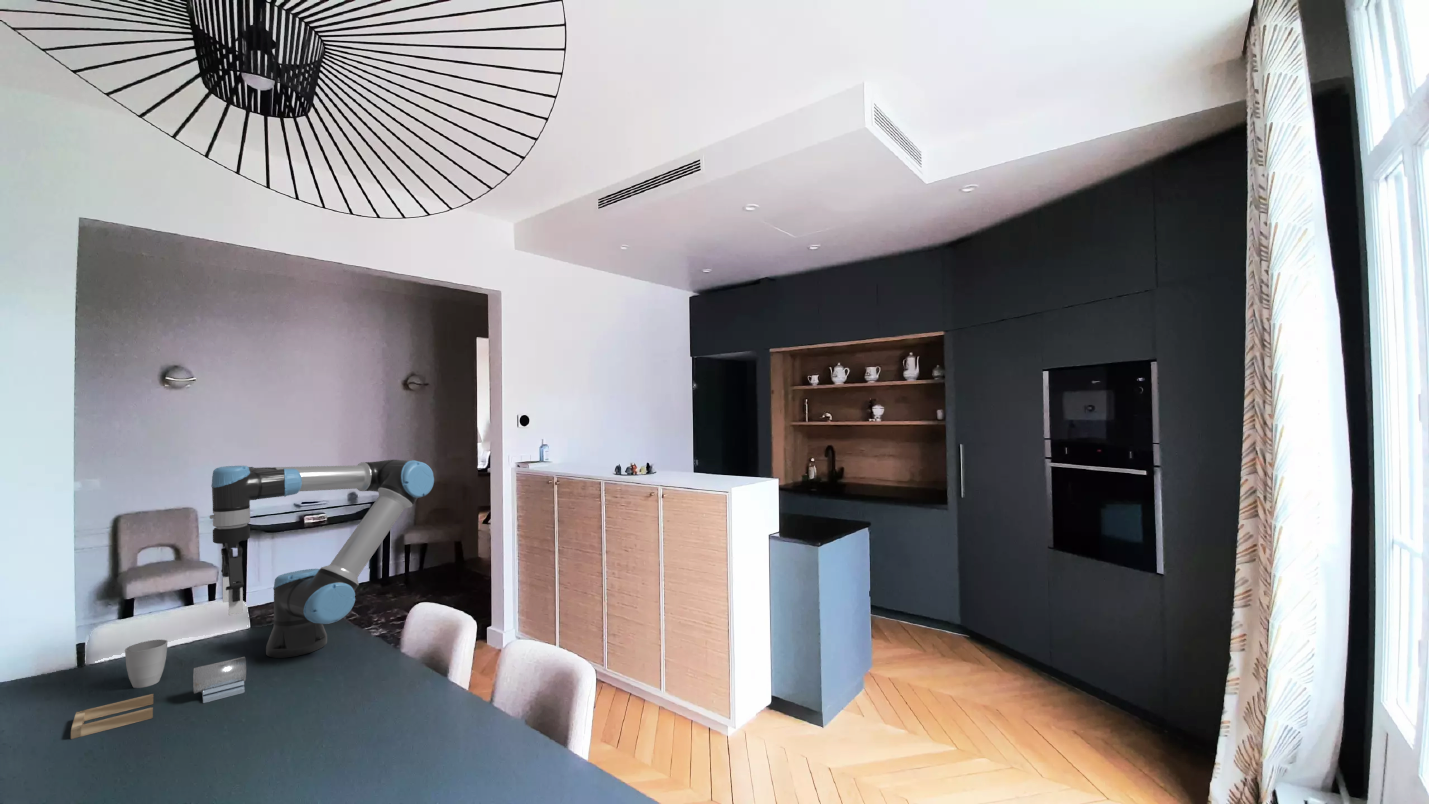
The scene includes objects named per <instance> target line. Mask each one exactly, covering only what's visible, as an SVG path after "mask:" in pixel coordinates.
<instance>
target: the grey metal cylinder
mask: <svg viewBox="0 0 1429 804" xmlns="http://www.w3.org/2000/svg"><path fill="white" fill-rule="evenodd" d="M192 676H193V678H192V679H193V685H192V686H193V694H197V693H202V691H203V690H207V689H211V688H216V687H220V686H224V685H228V684H232V683H236V682H240V681H244V682H246V680H247V660H246V657H245V656H242V657H238V658H237V657H236V658H233V659H232V658H231V659H229V660H224V661H223V660H222V661H220V662H216V663H211V664H205V665H201V666H198V667H194V668H193V675H192Z"/></svg>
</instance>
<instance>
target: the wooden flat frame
mask: <svg viewBox="0 0 1429 804" xmlns="http://www.w3.org/2000/svg"><path fill="white" fill-rule="evenodd" d="M150 705H154V693H151V694H145V695H142V696H138V697H134V698H129V699H126V700H121V701H117V702H113V703H108V704H105V705H100V706H97V707H91V708H87V709H83V710H80V711H75V715H74V719H73V721H72V725H71V729H70V740H73V739H77V738H81V737H85V736H89V735H92V734H96V733H100V732H104V731H105V732H106V731H108V730H112V729H115V728H120V727H123V726H128V725H131V724H134V723H138V722H139V723H140V722H143V721H147V720H150V719H151V720H152V719H153V718H154V717H153V716H154V707H152V706H151V707H148V708H145V709H140V710H136V711H132V712H128V713H124V714H120V715H117V716H116V715H115V714H118V713H123V712H127V711H130V710H135V709H138V708H143V707H146V706H150ZM111 715H115V716H111ZM106 716H111V717H108V718H105V719H100V718H103V717H106ZM98 718H99V719H100V720H96V721H92V722H91V721H90V722H88V723H85V722H87V721H89V720H94V719H98Z"/></svg>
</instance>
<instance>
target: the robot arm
mask: <svg viewBox="0 0 1429 804" xmlns="http://www.w3.org/2000/svg"><path fill="white" fill-rule="evenodd" d="M434 483H435V477H434V471H433V470H432V468H431V467H430V466H429V465H428V464H427V463H425V462H422V461H418V460H414V459H413V460H405V459H404V460H403V459H385V460H384V459H383V460H378V461H377V460H376V461H366V462H365V461H363V462H360V463H358V464H356V465H329V466H328V465H326V466H325V465H321V466H320V465H319V466H318V465H317V466H312V465H311V466H310V465H309V466H273V467H272V466H271V467H269V466H268V467H267V466H265V467H253V466H247V465H228V466H219V467H215V468H214V470H213V472H212V476H211V493H212V494H211V496H212V497H211V499H212V501H211V502H212V514H211V515H209V519H211V520H212V526H213V527H214V528H213V529H212V543H214V544H217V545H220V544H221V545H222V548H221V550H220V551H221V552H220V553H221V561H222V562H221V570H220V571H221V573H222V574H221V576H222V579H221V580H222V603H227V602H228V616H233V615H237V614H239V615H240V614H242V613H244V604H243V603H244V600H243V599H244V598H243V597H244V595H243V594H244V591H243V589H244V588H243V587H244V585H245V583H244V574H243V547H242V545H240V544H239V543H240V542H244V541H247V540H249V539H250V537H251V526H250V525H249V524H250V522H251V505H250V504H251V501H256V500H263V499H271V498H280V497H281V498H282V497H284V498H285V497H289V496H293V495H296V494H298V493H299V492H313V491H314V492H315V491H318V492H319V491H333V490H335V491H337V490H355V489H356V490H357V491H359V492H374V493H375V492H376V493H378V497H377V499H376V500H375V501H374V503H372V505H371V507H370V508H369V509H368V511H367V512H366V514H365V515H364V516H363V518H362V519H361V521H360V522H359V523H358V524H357V526H356V528H355V529H354V530H353V532H352V533H351V535H349V538H348V539H347V540H346V541H345V543H344V544H343V545H342V547H341V549H340V550H339V551H338V552H337V554H336V556H335V557H334V558H333V560H332V561H331V562H330V564H328V565H324V566H321V567H320V568H308V569H302V570H296V571H290V572H286V573H283V574H280V575H278V576H276V578H275V579H274V583H273V588H272V589H273V628H272V630H271V632H270V635H269V637H268V641H267V643H266V647H265V655H266V656H267V657H270V658H274V659H275V658H277V659H280V658H281V659H284V658H285V659H286V658H292V657H298V656H302V655H306V654H309V653H310V654H311V653H313V652H315V651H318V650H320V649H322V648H323V647H325V646H326V645H327V644H328V634H327V632H326V629H325V625H329V624H332V623H335V622H338V621H340V620H342V619H343V618H345V617H346V616H347V615H348V614H349V613H350V612H351V611H352V609H353V607H354V605H355V602H356V597H355V596H356V592H355V591H356V590H357V589H358V587H359V585H360V584H359V579H358V578H359V576H360V574H362V571H363V570H364V569H365V568H366V566H367V564H368V562H369V561H370V560H371V558H372V556H373V555H374V554H375V553H376V551H377V549H378V548H379V547H380V545H381V544H382V543H383V541H384V539H385V538H386V536H387V535H388V534H389V532H390V531H391V529H392V528H393V526H394V524H395V523H396V522H397V520H398V519H399V518H400V516H401V515H402V513H403V511H404V510H406V509H409V508H412V507H413V506H414V504H415V503H416V501H417V500H418V498H422V497H426V496H427V495H428V494H429V493H430V492H431V491H432V489H433V487H434V485H435V484H434Z"/></svg>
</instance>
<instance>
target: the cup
mask: <svg viewBox="0 0 1429 804" xmlns="http://www.w3.org/2000/svg"><path fill="white" fill-rule="evenodd" d="M168 644H169V643H168V640H167V639H152V640H147V641H141V642H138V643H134V644H132V645H129V646H128V647H126V648H125V650H124V652H125V653H124V654H125V655H124V657H125V666H126V671H127V675H128V679H129V681H130V683H131V685H132V687H133V689H143V688H147V687H151V686H153V685H156V684H157V683H159V682H160V680H161V677H162V675H163V672H164V669H165V665H166V660H167V654H168V653H167V651H168Z"/></svg>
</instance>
